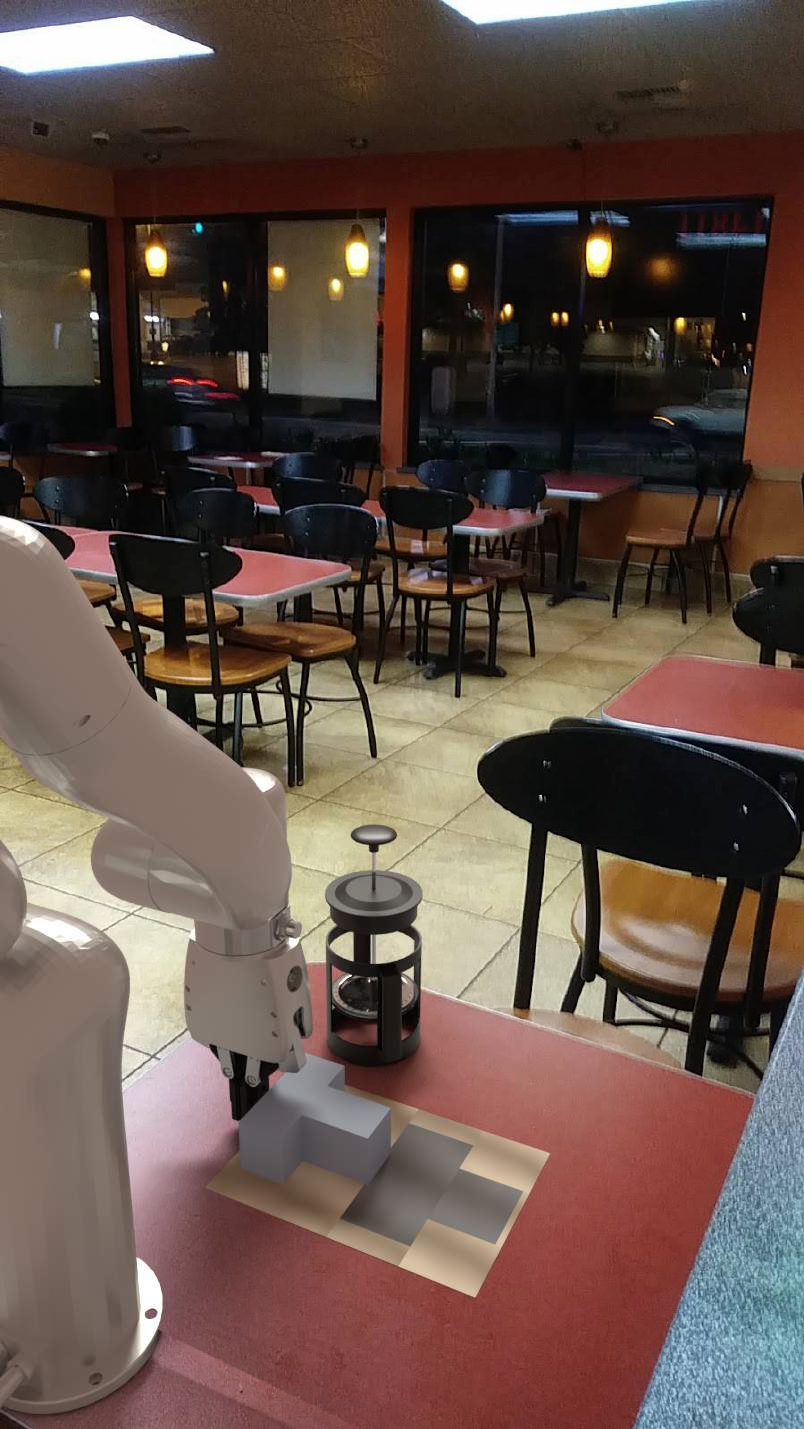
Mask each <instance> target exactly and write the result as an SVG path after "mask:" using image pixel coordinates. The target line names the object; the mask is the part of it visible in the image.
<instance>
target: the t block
mask: <svg viewBox="0 0 804 1429" xmlns="http://www.w3.org/2000/svg"><path fill="white" fill-rule="evenodd" d="M305 1056H306V1060H307V1063H306V1064H305V1065H304V1067H303V1068H302V1069H301V1070H300V1071H299V1072H298V1073H287V1072H284V1073H283V1075H282V1076H281V1077H279V1079H278V1080H277V1081H276V1082H275V1083H274V1084H273V1085H272V1086H271V1087H269V1091H268V1092H267V1093H266V1094H265V1095H264V1096H263V1097H262V1098H261V1099H260V1100H259V1101H258V1102H257V1103H256V1104H255V1105H254V1106H253V1107H252V1108H251V1110H250V1111H249V1112H248V1113H247V1114H246V1115H245V1116H244V1117H243V1118H242V1119H241V1120H240V1121H238V1137H239V1150H240V1162H241V1168H242V1169H244V1170H247V1171H249V1172H252V1173H254V1174H257V1175H259V1176H262V1177H264V1178H267V1179H270V1180H272V1181H275V1182H277V1183H280V1184H282V1185H283V1184H284V1183H285V1182H286V1180H287V1179H288V1178H289V1177H290V1176H291V1174H292V1173H293V1172H294V1171H295V1170H296V1168H297V1167H298V1166H299V1165H300V1163H301V1162H302V1161H305V1162H308V1163H310V1164H313V1165H316V1166H318V1167H321V1168H324V1169H326V1170H329V1171H331V1172H334V1173H337V1174H339V1175H342V1176H345V1177H347V1178H350V1179H353V1180H355V1181H358V1182H361V1183H363V1184H366V1185H368V1184H369V1183H370V1182H371V1180H372V1179H373V1177H374V1176H375V1175H376V1173H377V1172H378V1170H379V1169H380V1168H381V1166H382V1165H383V1164H384V1162H385V1161H386V1159H387V1158H388V1157H389V1155H390V1154H391V1108H390V1107H387V1106H384V1105H381V1104H378V1103H375V1102H372V1101H369V1100H366V1099H363V1098H361V1097H358V1096H355V1095H352V1094H349V1093H346V1092H345V1085H346V1084H345V1082H346V1081H345V1080H346V1077H345V1074H346V1073H345V1072H346V1071H345V1070H346V1069H345V1068H346V1067H345V1065H343V1064H340V1063H337V1062H334V1061H330V1060H328V1059H325V1058H323V1057H319V1056H316V1055H313V1054H310V1053H306V1052H305Z"/></svg>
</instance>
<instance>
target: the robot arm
mask: <svg viewBox="0 0 804 1429" xmlns="http://www.w3.org/2000/svg"><path fill="white" fill-rule="evenodd" d="M107 629H108V628H106V626H105V625H104V623H103V621H102V620H101V618H100V616H99V615H98V613H97V610H95V608H94V606H93V604H92V603H91V601H90V600H89V598H88V596H87V595H86V593H85V591H84V589H83V588H82V586H81V585H80V583H79V581H78V580H77V578H76V576H75V575H74V573H73V572H72V570H71V569H70V567H69V566H68V564H67V563H66V561H65V559H64V558H63V556H62V555H61V553H60V552H59V550H58V549H57V547H55V545H54V544H53V543H52V542H51V541H50V540H49V539H48V537H46V536H45V535H44V534H43V533H41V532H40V531H39V530H37V529H36V528H35V527H32V526H31V525H29V524H27V523H25V522H23V521H20V520H19V519H18V520H17V519H15V518H12V517H7V516H4V515H0V739H1V740H2V742H3V743H4V745H5V746H6V747H7V748H8V749H9V751H10V752H11V753H12V754H13V756H14V757H15V758H16V760H17V761H18V762H19V764H20V765H21V766H22V767H23V769H24V770H25V771H26V772H27V773H28V774H29V775H30V776H31V777H32V778H34V780H36V781H37V782H38V783H39V784H41V785H43V786H45V787H46V788H48V789H49V790H51V791H53V792H54V793H56V794H58V795H60V796H61V797H63V798H65V799H66V800H68V801H71V802H73V803H74V804H76V805H77V806H79V807H81V808H83V809H85V810H87V811H90V812H92V813H95V814H97V815H99V816H101V817H104V818H106V819H107V820H106V821H105V822H104V823H103V825H102V826H101V827H100V829H99V830H98V832H97V834H96V835H95V838H94V840H93V843H92V846H91V850H90V852H91V853H90V866H91V871H92V873H93V877H94V878H95V880H96V881H97V883H98V884H99V886H100V887H101V888H102V889H103V890H104V891H106V892H107V893H108V894H110V895H112V896H113V897H115V898H117V899H119V900H121V901H124V902H127V903H129V904H134V905H136V906H140V907H144V908H147V909H152V910H154V911H158V912H163V913H167V914H174V915H178V916H180V917H184V918H187V919H191V920H193V925H194V926H193V928H192V930H191V932H190V936H189V938H188V943H187V949H186V956H185V962H184V963H185V965H184V978H183V982H184V983H183V1004H184V1005H183V1006H184V1017H185V1024H186V1028H187V1031H188V1032H189V1034H190V1036H191V1039H192V1040H193V1041H195V1042H196V1043H198V1044H200V1045H202V1046H204V1047H205V1048H207V1049H210V1050H209V1051H211V1052H212V1054H213V1055H214V1057H215V1058H216V1059H217V1061H218V1062H219V1064H220V1070H221V1074H222V1075H223V1076H224V1078H226V1079H228V1087H229V1102H230V1103H231V1104H230V1105H231V1106H230V1107H231V1109H230V1110H231V1120H233V1121H236V1122H239V1121H240V1120H241V1119H242V1118H243V1117H244V1116H245V1115H246V1114H247V1113H248V1112H249V1111H250V1110H251V1108H252V1107H253V1106H254V1105H255V1104H256V1103H257V1102H258V1101H259V1100H260V1099H261V1098H262V1097H263V1096H264V1095H265V1094H266V1093H267V1092H268V1091H269V1090H270V1076H271V1075H273V1074H275V1072H276V1071H277V1072H278V1071H279V1072H280V1073H286V1072H287V1073H298V1072H299V1071H300V1070H301V1069H302V1068H303V1067H304V1065H305V1064H306V1063H307V1060H306V1056H305V1053H306V1052H305V1049H304V1044H303V1042H302V1039H303V1040H309V1039H310V1037H311V1036H312V1034H313V1031H314V1030H313V1028H314V1023H313V1022H314V1020H313V1007H312V1006H313V1005H312V995H311V985H310V979H309V972H308V966H307V962H306V957H305V953H304V950H303V945H302V943H301V940H300V936H301V934H302V931H303V924H302V923H301V922H298V921H295V920H294V918H292V917H291V905H290V900H289V891H290V888H291V883H292V876H293V871H292V870H293V869H292V868H293V866H292V864H293V863H292V856H291V849H290V846H289V843H288V842H289V841H288V831H287V830H288V828H287V827H288V826H287V799H286V792H285V789H284V785H283V784H282V781H280V780H279V779H278V777H277V776H275V775H274V774H272V773H270V772H268V771H266V770H263V769H258V768H254V767H242V766H240V765H239V764H238V763H237V762H235V761H234V760H233V759H232V758H231V757H230V756H229V755H227V754H226V753H225V752H224V751H222V750H221V749H219V748H218V747H217V746H216V745H215V744H213V743H212V742H210V740H208V739H207V738H205V737H204V736H203V735H202V734H200V733H199V732H197V731H196V730H195V729H194V728H192V727H191V726H190V725H189V724H188V723H186V721H184V720H183V719H181V718H180V717H179V716H177V714H175V713H174V712H172V711H170V710H169V709H167V707H165V706H163V705H162V704H161V703H159V702H158V701H156V700H155V699H153V698H152V697H151V695H149V694H148V693H147V691H145V689H144V687H143V686H142V685H141V683H140V681H139V680H138V678H137V677H136V674H135V673H134V671H133V670H132V668H131V666H130V665H129V663H128V661H127V660H126V659H125V656H123V654H122V652H121V651H120V649H119V647H118V645H117V644H116V643H115V641H114V640H113V638H112V636H111V634H110V633H109V631H108V630H107ZM12 854H13V853H12V852H11V851H10V850H9V849H8V848H7V846H6V845H5V843H4V842H3V841H2V840H1V839H0V1409H1V1408H2V1407H5V1408H7V1409H10V1410H12V1411H17V1412H21V1413H24V1414H31V1415H32V1414H34V1415H35V1414H37V1415H38V1414H40V1415H52V1414H59V1413H65V1412H70V1411H72V1410H76V1409H81V1408H82V1407H86V1406H88V1405H91V1404H93V1403H95V1402H98V1401H99V1400H101V1399H103V1398H106V1397H107V1396H109V1395H110V1394H113V1392H115V1391H117V1390H118V1389H119V1388H121V1387H122V1386H124V1385H125V1384H126V1383H127V1382H128V1381H129V1380H130V1379H131V1378H133V1376H135V1375H136V1374H137V1373H139V1371H140V1370H141V1368H142V1367H143V1366H144V1365H145V1364H146V1362H147V1361H148V1360H149V1358H150V1357H151V1356H152V1354H153V1351H154V1350H155V1348H156V1346H157V1345H158V1343H159V1340H160V1339H161V1338H160V1337H161V1334H162V1331H161V1330H160V1329H159V1327H160V1323H161V1321H162V1320H161V1319H162V1315H163V1310H164V1296H163V1293H162V1292H163V1291H162V1288H161V1284H160V1281H159V1280H158V1278H157V1276H156V1274H155V1272H154V1270H152V1268H150V1266H149V1265H148V1264H147V1263H146V1262H145V1261H143V1260H142V1259H140V1258H139V1257H138V1256H137V1244H136V1235H135V1224H134V1223H135V1222H134V1221H135V1220H134V1213H133V1200H132V1189H131V1176H130V1168H129V1166H130V1164H129V1155H128V1143H127V1132H126V1122H125V1111H124V1110H125V1108H124V1095H123V1067H122V1066H123V1065H122V1064H123V1050H124V1039H125V1030H126V1026H127V1025H126V1024H127V1017H128V1010H129V1004H130V1003H129V1002H130V996H131V977H130V970H129V969H130V968H129V966H128V962H127V959H126V957H125V955H124V953H123V951H122V950H121V948H120V947H119V946H118V945H117V943H116V942H115V941H114V940H113V939H112V938H111V937H110V936H108V935H107V933H105V932H104V931H103V930H101V929H100V928H98V927H96V926H94V925H93V924H91V923H89V922H87V921H85V920H83V919H80V917H79V918H78V917H75V916H73V915H70V914H68V913H65V912H62V911H59V910H55V909H51V908H48V907H44V906H41V905H37V904H34V903H30V902H28V898H27V897H28V895H27V890H26V885H25V881H24V878H23V874H22V871H21V868H20V867H19V865H18V863H17V861H16V860H15V858H14V856H13V855H12ZM150 1310H156V1312H157V1314H156V1316H155V1317H154V1318H150V1319H148V1318H147V1317H146V1315H145V1314H146V1313H147V1311H150Z"/></svg>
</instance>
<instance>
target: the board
mask: <svg viewBox="0 0 804 1429" xmlns="http://www.w3.org/2000/svg"><path fill="white" fill-rule="evenodd" d="M345 1092H346V1093H349V1094H352V1095H355V1096H358V1097H361V1098H363V1099H366V1100H369V1101H372V1102H375V1103H378V1104H381V1105H384V1106H387V1107H390V1108H391V1154H390V1155H389V1157H388V1158H387V1159H386V1161H385V1162H384V1164H383V1165H382V1166H381V1168H380V1169H379V1170H378V1172H377V1173H376V1175H375V1176H374V1177H373V1179H372V1180H371V1182H370V1183H369V1184H368V1185H366V1184H363V1183H361V1182H358V1181H355V1180H353V1179H350V1178H347V1177H345V1176H342V1175H339V1174H337V1173H334V1172H331V1171H329V1170H326V1169H324V1168H321V1167H318V1166H316V1165H313V1164H310V1163H308V1162H305V1161H302V1162H301V1163H300V1165H299V1166H298V1167H297V1168H296V1170H295V1171H294V1172H293V1173H292V1174H291V1176H290V1177H289V1178H288V1179H287V1180H286V1182H285V1183H284V1184H283V1185H282V1184H280V1183H277V1182H275V1181H272V1180H270V1179H267V1178H264V1177H262V1176H259V1175H257V1174H254V1173H252V1172H249V1171H247V1170H244V1169H242V1168H241V1162H240V1149H239V1150H238V1151H237V1152H236V1154H234V1155H233V1156H232V1158H231V1159H230V1160H229V1161H227V1163H226V1164H225V1165H224V1166H223V1167H222V1169H221V1170H220V1171H219V1172H218V1173H217V1174H216V1175H214V1177H213V1178H212V1179H211V1180H210V1182H209V1183H208V1184H207V1185H206V1186H205V1187H204V1188H205V1189H206V1190H209V1191H211V1192H215V1193H216V1194H219V1195H221V1196H223V1197H226V1198H229V1199H231V1200H234V1201H237V1202H239V1203H241V1204H244V1205H246V1206H248V1207H251V1208H252V1209H255V1210H258V1211H260V1212H263V1213H265V1214H268V1215H269V1216H272V1217H275V1218H277V1219H281V1220H283V1221H285V1222H288V1223H291V1224H292V1225H295V1226H298V1227H299V1228H302V1229H305V1230H306V1231H310V1232H312V1233H314V1234H317V1235H319V1236H321V1237H324V1238H327V1239H329V1240H332V1241H334V1242H337V1243H339V1244H341V1245H343V1246H347V1247H349V1248H352V1249H354V1250H356V1251H359V1252H361V1253H364V1254H366V1255H368V1256H371V1257H374V1258H376V1259H379V1260H381V1261H383V1262H385V1263H388V1264H391V1265H393V1266H396V1267H398V1268H400V1269H403V1270H406V1271H408V1272H411V1273H412V1274H415V1275H417V1276H420V1277H423V1278H425V1279H428V1280H430V1281H433V1282H434V1283H437V1284H439V1285H442V1286H445V1287H447V1288H450V1289H452V1290H454V1291H457V1292H460V1293H462V1294H464V1295H467V1296H468V1297H471V1298H474V1299H476V1297H477V1296H478V1293H479V1292H480V1289H481V1288H482V1286H483V1285H484V1283H485V1281H486V1278H487V1276H488V1275H489V1272H490V1270H491V1269H492V1266H493V1265H494V1263H495V1261H496V1259H497V1257H498V1255H499V1253H500V1251H501V1249H502V1247H503V1246H504V1244H505V1242H506V1240H507V1238H508V1236H509V1234H510V1233H511V1230H512V1228H513V1227H514V1224H515V1223H516V1221H517V1218H518V1216H519V1215H520V1213H521V1211H522V1210H523V1207H524V1205H525V1203H526V1202H527V1200H528V1198H529V1196H530V1194H531V1192H532V1190H533V1188H534V1187H535V1184H536V1182H537V1180H538V1179H539V1176H540V1174H541V1172H542V1171H543V1168H544V1166H545V1165H546V1163H547V1161H548V1159H549V1157H550V1155H551V1153H550V1152H547V1151H545V1150H542V1149H539V1148H535V1147H533V1146H530V1145H526V1144H524V1143H521V1142H518V1141H515V1140H512V1139H509V1138H505V1137H503V1136H500V1135H497V1134H494V1133H491V1132H488V1131H485V1130H482V1129H479V1128H476V1127H473V1126H470V1125H468V1124H464V1123H461V1122H458V1121H455V1120H452V1119H449V1118H446V1117H443V1116H440V1115H438V1114H433V1113H432V1112H428V1111H426V1110H422V1109H419V1108H417V1107H414V1106H412V1105H411V1106H410V1105H407V1104H405V1103H403V1102H399V1101H395V1100H392V1099H390V1098H386V1097H383V1096H380V1095H378V1094H375V1093H371V1092H369V1091H366V1090H363V1089H360V1088H356V1087H355V1086H351V1085H348V1084H345Z"/></svg>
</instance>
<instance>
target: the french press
mask: <svg viewBox="0 0 804 1429" xmlns="http://www.w3.org/2000/svg"><path fill="white" fill-rule="evenodd" d="M397 837H398V833H397V831H396V830H395V829H394V828H393V827H390V826H388V825H384V824H373V823H372V824H364V825H361V826H357V827H356V828H354V829H353V830H352V831H351V832H350V838H351V840H352V841H354V842H355V843H358V844H361V845H366V846H368V852H369V853H371V869H367V870H360V871H352V872H350V873H346V874H344V875H341V876H339V877H337V878H335V879H334V880H332V881H331V882H330V883H329V884H328V885H327V886H326V888H325V892H324V897H325V902H326V903H327V904H328V906H329V912H330V913H329V915H330V919H331V920H332V922H333V923H334V924H335V925H334V926H332V928H330V929H329V931H328V932H327V934H326V936H325V978H326V979H325V981H326V982H325V983H326V984H325V985H326V986H325V988H326V989H325V990H326V992H325V993H326V994H325V995H326V1042H327V1046H328V1048H329V1050H330V1051H331V1052H332V1053H333V1055H334V1056H335V1057H337V1058H338V1059H340V1060H342V1062H346V1063H348V1064H350V1065H354V1066H358V1067H364V1068H381V1067H388V1066H394V1065H396V1064H398V1063H402V1062H403V1061H405V1060H407V1059H409V1058H410V1057H412V1055H413V1054H414V1053H416V1052H417V1050H418V1048H419V1045H420V1042H421V1003H422V1002H421V998H422V997H421V996H422V994H421V993H422V991H421V990H422V988H421V987H422V985H421V984H422V950H423V949H422V945H423V940H422V939H423V938H422V934H421V932H420V931H419V930H418V928H417V927H415V926H414V925H412V924H413V923H415V921H416V919H417V917H418V906H419V905H420V904H421V902H422V900H423V896H424V895H423V888H422V887H421V885H420V884H419V883H418V881H416V880H415V879H413V878H412V877H410V876H408V875H405V874H402V873H400V872H399V873H398V872H394V871H390V870H380V869H377V856H376V855H377V853H379V850H380V846H382V845H387V844H389V843H392V842H394V841H395V840H396V839H397ZM396 932H398V933H401V934H403V935H405V936H407V937H409V938H410V939H412V940H413V951H412V952H411V953H410V954H408V955H407V956H405V957H403V958H400V959H397V960H393V961H388V962H382V963H377V961H376V959H377V958H376V957H377V955H376V954H377V952H376V951H377V948H376V947H377V946H376V944H377V943H376V942H377V940H376V939H377V936H378V935H390V934H393V933H396ZM347 933H348V934H349V933H352V934H353V935H352V937H353V938H352V940H353V944H352V946H353V947H352V948H353V951H352V952H353V953H352V954H353V956H352V957H353V958H352V959H353V960H350V959H347V958H344V957H342V956H340V955H338V954H337V953H335V951H334V950H332V948H331V944H332V943H333V942H334V941H335V940H337V939H338V938H340V937H341V936H343V935H345V934H347ZM333 967H334V968H336V969H337V970H339V971H340V972H343V973H342V974H341V975H340V976H338V977H337V978H335V980H333ZM411 968H413V979H412V978H411V977H410V976H409V975H407V974H405V973H404V972H407V971H408V970H410V969H411ZM347 1018H352V1019H356V1020H360V1021H366V1022H376V1046H375V1045H362V1044H357V1043H353V1042H350V1041H348V1040H345V1039H343V1038H342V1037H340V1036H338V1035H337V1034H336V1033H335V1032H334V1028H335V1027H336V1026H337V1025H338V1024H339V1023H341V1022H342V1021H344V1020H345V1019H347ZM403 1020H404V1021H407V1022H408V1023H409V1024H410V1025H411V1026H412V1027H413V1029H414V1030H413V1031H412V1032H411V1033H410V1034H409V1035H408V1036H407V1037H405V1038H403V1037H402V1034H403V1029H402V1028H403V1026H402V1025H403ZM402 1038H403V1039H402Z"/></svg>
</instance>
